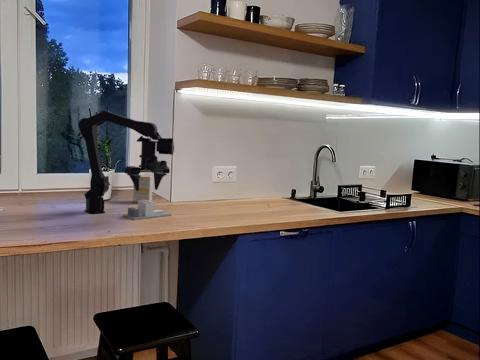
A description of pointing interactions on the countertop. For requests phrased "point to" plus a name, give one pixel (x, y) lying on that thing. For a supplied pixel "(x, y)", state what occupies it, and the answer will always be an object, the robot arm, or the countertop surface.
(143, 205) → the module
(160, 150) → the robot arm
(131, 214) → the rail board
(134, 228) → the countertop surface
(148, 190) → the supplement box
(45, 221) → the countertop surface
